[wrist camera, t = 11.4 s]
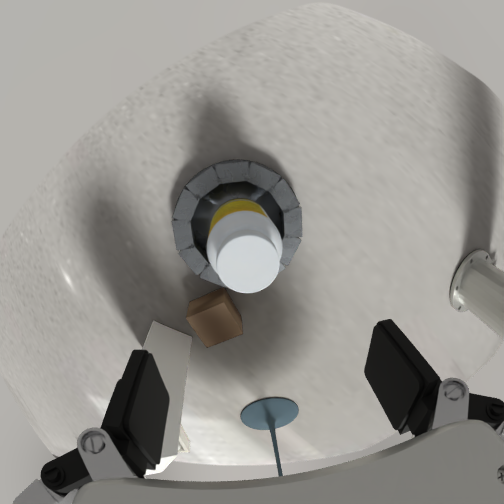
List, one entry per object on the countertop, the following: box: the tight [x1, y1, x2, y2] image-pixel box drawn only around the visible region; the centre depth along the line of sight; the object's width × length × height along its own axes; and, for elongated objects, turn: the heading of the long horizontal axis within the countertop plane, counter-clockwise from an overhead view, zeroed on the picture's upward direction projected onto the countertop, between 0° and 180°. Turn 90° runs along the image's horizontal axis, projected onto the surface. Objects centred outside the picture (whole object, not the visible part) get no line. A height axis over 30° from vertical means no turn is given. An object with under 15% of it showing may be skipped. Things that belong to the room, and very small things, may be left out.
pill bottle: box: [207, 198, 282, 293], centre depth 25 cm, size 6×6×12 cm
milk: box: [142, 321, 192, 475], centre depth 26 cm, size 6×6×22 cm
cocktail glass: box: [241, 398, 298, 476], centre depth 32 cm, size 18×18×25 cm
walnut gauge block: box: [186, 287, 243, 348], centre depth 33 cm, size 5×5×4 cm
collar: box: [172, 160, 302, 288], centre depth 30 cm, size 15×15×2 cm
